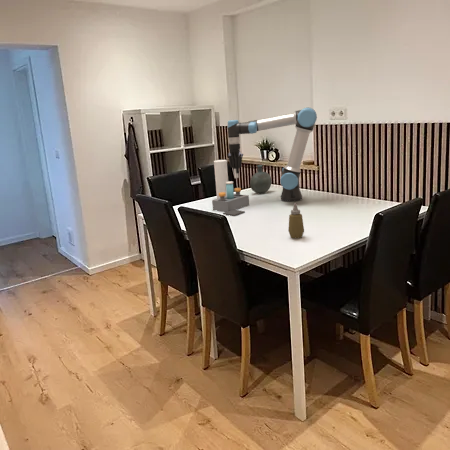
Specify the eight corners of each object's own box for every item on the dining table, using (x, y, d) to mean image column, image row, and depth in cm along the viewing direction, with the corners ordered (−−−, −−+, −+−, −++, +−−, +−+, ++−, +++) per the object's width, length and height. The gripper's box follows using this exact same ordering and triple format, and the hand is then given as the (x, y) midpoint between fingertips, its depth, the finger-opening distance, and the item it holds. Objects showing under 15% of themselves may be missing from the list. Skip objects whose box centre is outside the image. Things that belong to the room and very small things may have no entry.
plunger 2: (243, 200, 309) (242, 188, 306) (238, 202, 305) (237, 189, 303) (238, 200, 312) (237, 187, 309) (233, 201, 308) (232, 188, 306)
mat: (244, 212, 287) (244, 211, 287) (234, 216, 280) (234, 214, 280) (233, 211, 294) (233, 209, 293) (223, 214, 287) (223, 213, 286)
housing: (249, 205, 307) (248, 195, 305) (228, 212, 291) (227, 202, 290) (234, 203, 316) (233, 193, 314) (212, 210, 301) (212, 200, 299)
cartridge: (236, 207, 304) (234, 181, 299) (231, 208, 300) (229, 182, 295) (230, 206, 307) (229, 181, 303) (225, 208, 304) (223, 182, 299)
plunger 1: (227, 205, 297) (226, 192, 295) (223, 207, 294) (222, 193, 292) (222, 204, 300) (221, 191, 298) (218, 206, 297) (217, 193, 295)
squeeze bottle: (287, 235, 231) (285, 202, 226) (302, 234, 232) (301, 201, 227) (290, 240, 223) (289, 205, 219) (306, 238, 224) (305, 204, 219)
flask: (250, 192, 349) (248, 165, 343) (271, 191, 349) (270, 163, 343) (251, 195, 338) (249, 167, 332) (273, 193, 337) (271, 165, 332)
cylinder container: (228, 201, 324) (225, 160, 316) (215, 201, 326) (212, 161, 318) (230, 198, 333) (227, 158, 325) (218, 199, 335) (215, 159, 327)
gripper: (223, 144, 300) (226, 178, 306) (238, 144, 291) (240, 179, 297) (230, 142, 305) (233, 176, 311) (245, 142, 296) (247, 177, 303)
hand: (236, 177), depth 304 cm, fingers closed
